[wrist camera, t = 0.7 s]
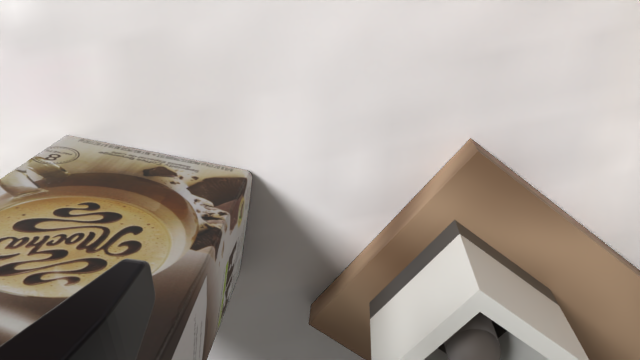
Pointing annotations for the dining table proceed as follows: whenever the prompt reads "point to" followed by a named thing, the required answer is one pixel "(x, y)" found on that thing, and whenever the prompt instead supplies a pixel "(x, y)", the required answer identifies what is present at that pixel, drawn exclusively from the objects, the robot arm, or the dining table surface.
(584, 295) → the pin board
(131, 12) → the dining table surface
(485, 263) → the grey sleeve
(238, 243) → the coffee box
